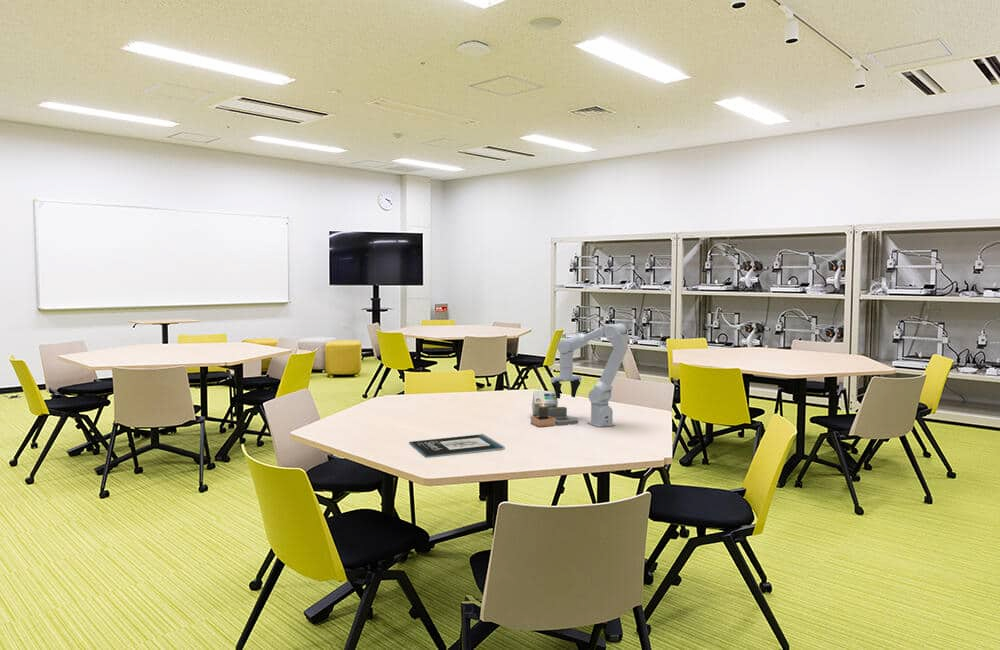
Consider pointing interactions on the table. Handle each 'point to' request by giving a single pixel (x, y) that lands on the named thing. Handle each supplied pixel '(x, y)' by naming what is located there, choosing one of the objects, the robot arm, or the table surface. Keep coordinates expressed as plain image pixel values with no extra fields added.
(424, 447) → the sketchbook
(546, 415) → the battery cell
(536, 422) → the tray
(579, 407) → the table surface
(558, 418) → the grey rectangular holed block
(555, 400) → the light bulb box
